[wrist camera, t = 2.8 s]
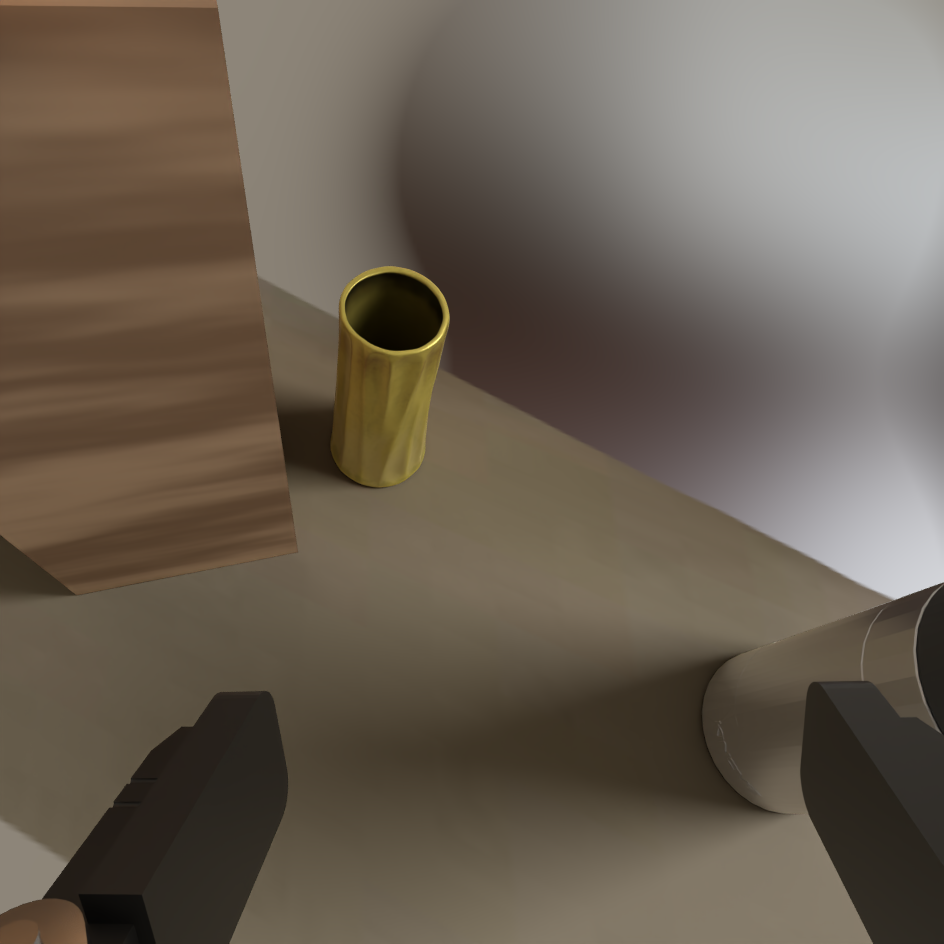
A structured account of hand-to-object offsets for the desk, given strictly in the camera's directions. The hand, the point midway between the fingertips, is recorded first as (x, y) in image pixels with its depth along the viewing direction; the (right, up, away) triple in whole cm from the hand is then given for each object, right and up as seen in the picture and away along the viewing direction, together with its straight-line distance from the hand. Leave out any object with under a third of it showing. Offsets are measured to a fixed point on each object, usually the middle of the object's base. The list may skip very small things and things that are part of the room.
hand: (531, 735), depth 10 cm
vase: (-7, +6, +35) cm, 36 cm away
